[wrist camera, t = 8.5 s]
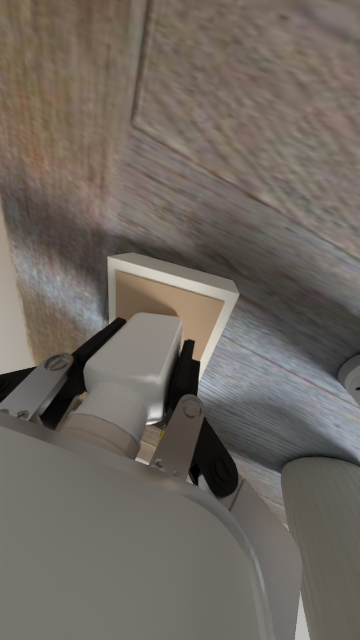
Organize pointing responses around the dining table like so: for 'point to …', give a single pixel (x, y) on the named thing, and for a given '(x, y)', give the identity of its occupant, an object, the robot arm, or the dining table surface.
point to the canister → (326, 542)
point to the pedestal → (172, 298)
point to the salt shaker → (127, 384)
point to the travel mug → (351, 377)
